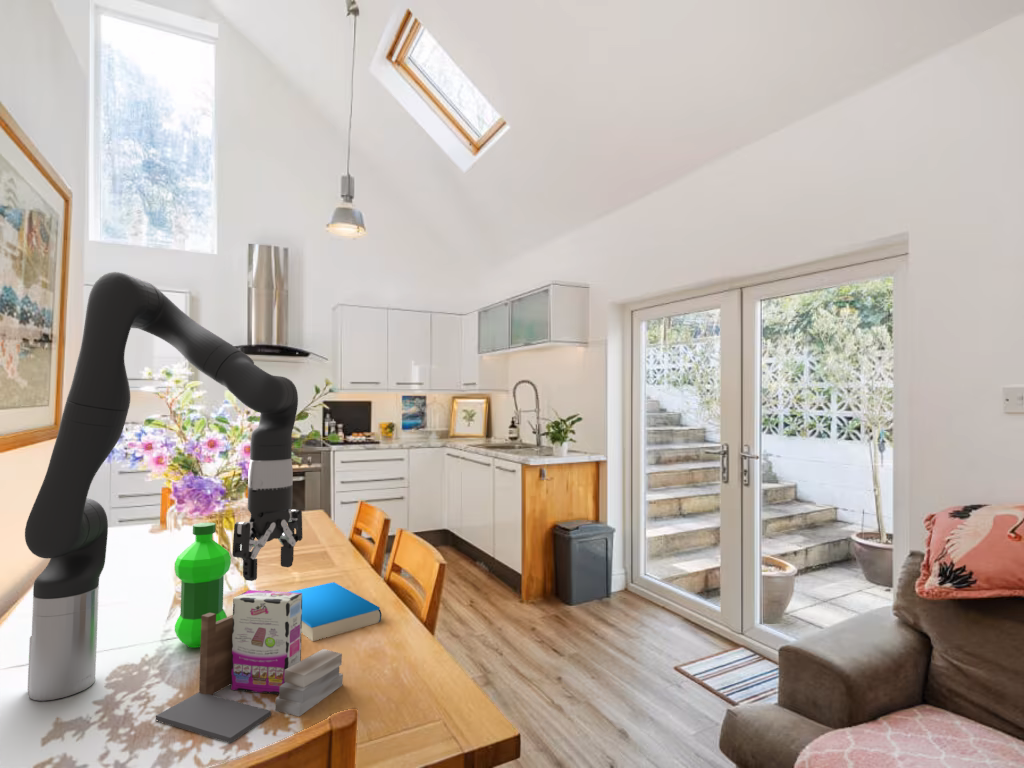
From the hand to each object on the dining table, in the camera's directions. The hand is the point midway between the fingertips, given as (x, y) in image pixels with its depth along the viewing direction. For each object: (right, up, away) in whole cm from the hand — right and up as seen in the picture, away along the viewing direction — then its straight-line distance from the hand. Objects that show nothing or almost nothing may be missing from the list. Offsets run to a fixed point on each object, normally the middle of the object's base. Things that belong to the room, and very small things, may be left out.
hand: (269, 573), depth 101 cm
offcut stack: (+9, -20, -4) cm, 23 cm away
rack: (-7, -20, +2) cm, 21 cm away
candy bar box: (0, -21, -1) cm, 21 cm away
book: (-1, -22, +33) cm, 40 cm away
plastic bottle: (-22, -21, +17) cm, 35 cm away
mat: (-4, -20, -11) cm, 23 cm away
